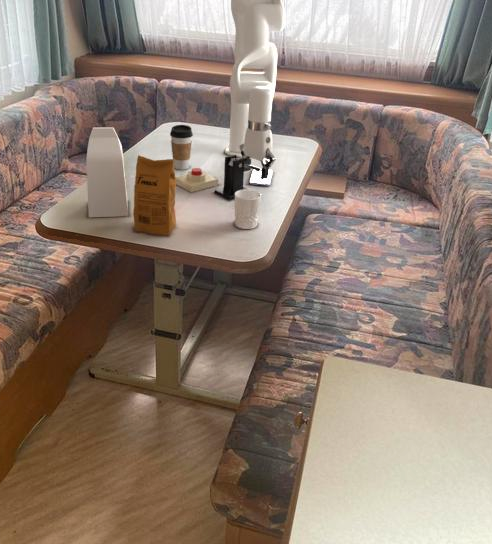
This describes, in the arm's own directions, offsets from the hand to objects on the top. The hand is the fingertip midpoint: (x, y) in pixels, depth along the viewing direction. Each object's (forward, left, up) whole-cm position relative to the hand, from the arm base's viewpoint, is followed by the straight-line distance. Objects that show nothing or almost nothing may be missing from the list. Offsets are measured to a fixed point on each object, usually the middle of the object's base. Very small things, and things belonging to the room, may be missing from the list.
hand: (255, 174), depth 201 cm
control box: (+15, -14, -5) cm, 21 cm away
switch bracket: (+10, 0, -5) cm, 11 cm away
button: (+15, -14, -1) cm, 21 cm away
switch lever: (+6, 0, +3) cm, 7 cm away
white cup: (+23, +21, -5) cm, 32 cm away
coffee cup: (+9, -31, -5) cm, 33 cm away
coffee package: (+47, +7, -5) cm, 48 cm away
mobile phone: (-8, -5, -5) cm, 11 cm away
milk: (+51, -13, -5) cm, 53 cm away
